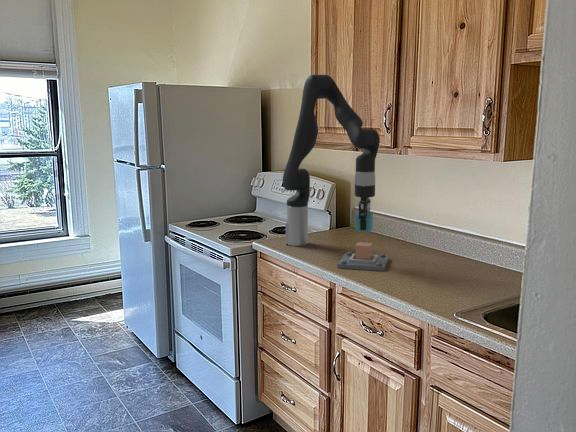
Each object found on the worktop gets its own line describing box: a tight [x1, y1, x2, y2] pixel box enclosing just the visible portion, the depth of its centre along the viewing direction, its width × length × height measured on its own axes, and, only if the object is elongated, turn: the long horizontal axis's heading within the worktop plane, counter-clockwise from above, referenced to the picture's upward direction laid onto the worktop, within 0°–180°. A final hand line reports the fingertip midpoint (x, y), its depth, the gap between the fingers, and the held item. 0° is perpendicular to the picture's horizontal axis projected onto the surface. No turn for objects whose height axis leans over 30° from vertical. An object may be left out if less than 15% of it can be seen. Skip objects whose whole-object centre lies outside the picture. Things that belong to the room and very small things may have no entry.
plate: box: [336, 251, 389, 272], centre depth 201 cm, size 17×17×2 cm
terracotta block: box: [354, 241, 373, 260], centre depth 201 cm, size 6×6×6 cm
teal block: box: [355, 212, 374, 232], centre depth 199 cm, size 6×6×6 cm
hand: (364, 228), depth 199 cm, fingers closed on teal block, 5 cm apart
